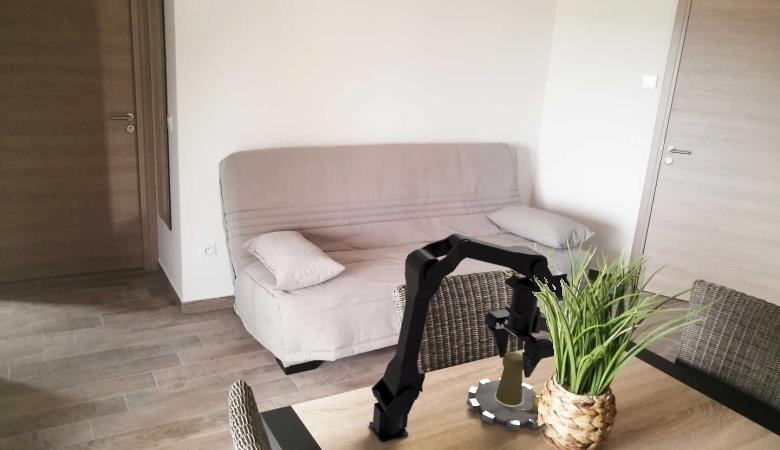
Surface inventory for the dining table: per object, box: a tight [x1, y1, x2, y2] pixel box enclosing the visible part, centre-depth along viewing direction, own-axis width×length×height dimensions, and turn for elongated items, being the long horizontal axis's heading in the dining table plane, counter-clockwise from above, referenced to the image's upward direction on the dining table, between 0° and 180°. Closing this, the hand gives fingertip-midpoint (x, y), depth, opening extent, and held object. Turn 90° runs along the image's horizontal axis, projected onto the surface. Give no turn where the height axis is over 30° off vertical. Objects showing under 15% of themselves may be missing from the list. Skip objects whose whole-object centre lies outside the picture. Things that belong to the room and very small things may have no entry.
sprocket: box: [467, 377, 541, 432], centre depth 134 cm, size 19×18×6 cm
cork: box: [496, 351, 524, 405], centre depth 133 cm, size 6×6×11 cm
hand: (514, 367), depth 132 cm, fingers open, 9 cm apart
